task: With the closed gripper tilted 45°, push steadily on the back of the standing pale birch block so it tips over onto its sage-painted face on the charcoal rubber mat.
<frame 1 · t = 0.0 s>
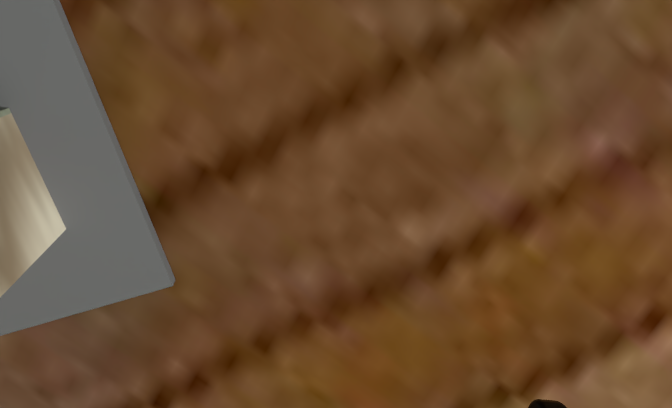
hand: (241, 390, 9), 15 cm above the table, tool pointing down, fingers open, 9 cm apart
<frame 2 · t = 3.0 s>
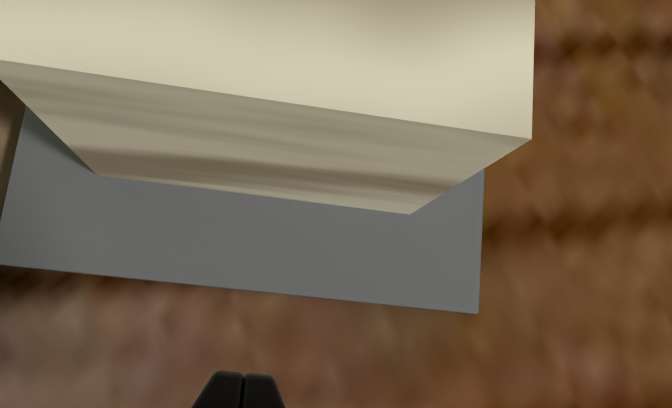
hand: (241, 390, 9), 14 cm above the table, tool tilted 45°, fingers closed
birch block: (266, 136, 23), point 1 cm above the table, touching rubber mat
rubber mat: (281, 28, 24), on the table
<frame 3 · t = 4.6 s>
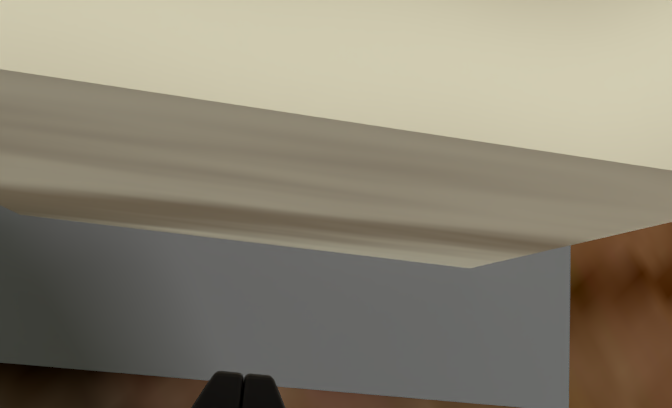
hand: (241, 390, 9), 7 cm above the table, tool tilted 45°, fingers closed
birch block: (267, 157, 16), point 1 cm above the table, touching rubber mat
rubber mat: (288, 7, 18), on the table
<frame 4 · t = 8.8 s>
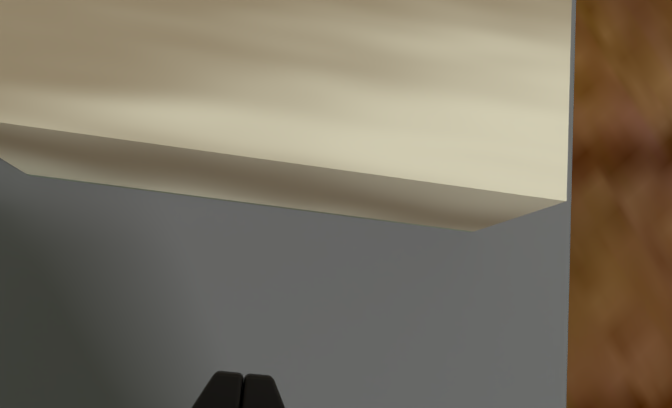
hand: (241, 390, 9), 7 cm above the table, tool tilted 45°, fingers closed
birch block: (265, 186, 13), point 3 cm above the table, tilted 90°, touching rubber mat
rubber mat: (272, 129, 17), on the table
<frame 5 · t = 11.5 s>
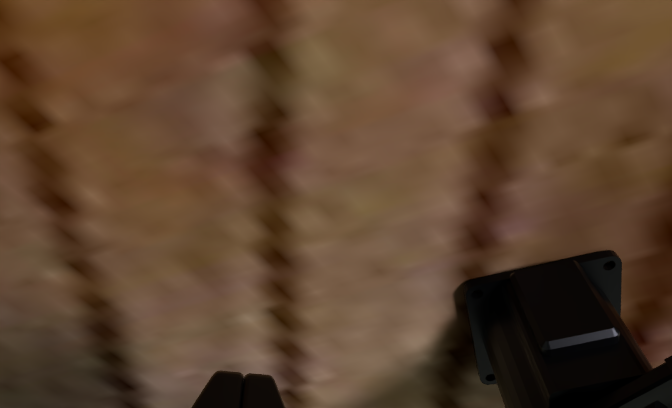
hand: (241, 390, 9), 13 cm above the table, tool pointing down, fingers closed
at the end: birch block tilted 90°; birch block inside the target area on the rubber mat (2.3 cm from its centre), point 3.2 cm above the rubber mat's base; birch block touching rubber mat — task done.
